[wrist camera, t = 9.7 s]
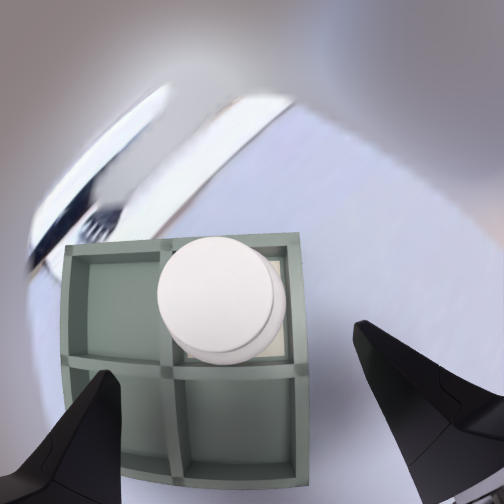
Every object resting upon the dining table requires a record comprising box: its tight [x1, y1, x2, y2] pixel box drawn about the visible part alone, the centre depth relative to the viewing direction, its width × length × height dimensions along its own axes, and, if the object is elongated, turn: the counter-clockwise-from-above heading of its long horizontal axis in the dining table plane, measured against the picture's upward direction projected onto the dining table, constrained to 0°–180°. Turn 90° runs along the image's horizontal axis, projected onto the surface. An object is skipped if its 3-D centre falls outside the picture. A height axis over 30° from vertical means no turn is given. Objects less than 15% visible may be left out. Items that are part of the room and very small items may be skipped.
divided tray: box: [60, 232, 309, 490], centre depth 17 cm, size 16×16×3 cm
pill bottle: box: [157, 237, 286, 365], centre depth 14 cm, size 5×5×10 cm
